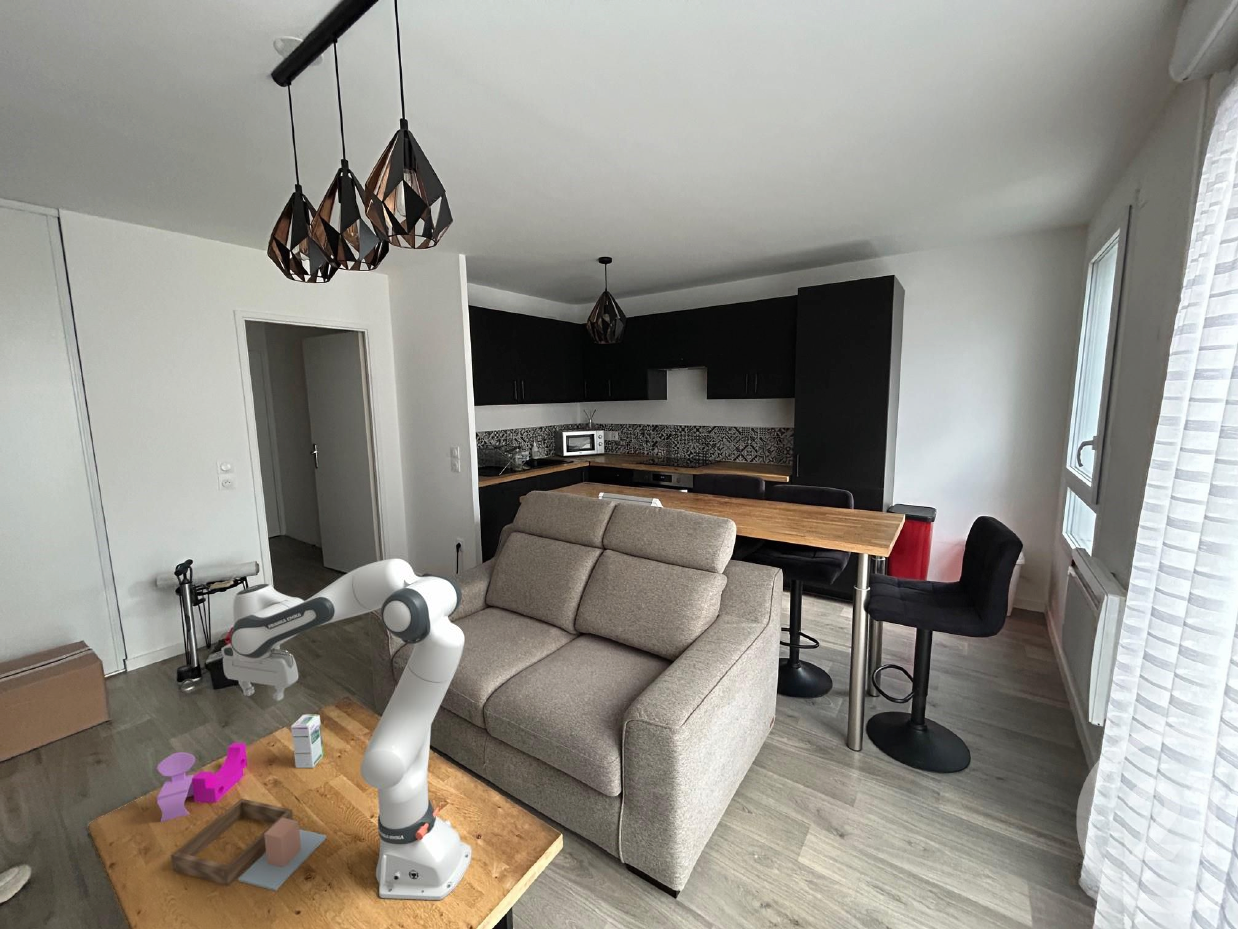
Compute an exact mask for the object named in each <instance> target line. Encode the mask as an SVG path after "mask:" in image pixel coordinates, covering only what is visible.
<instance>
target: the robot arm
mask: <svg viewBox="0 0 1238 929" xmlns="http://www.w3.org/2000/svg"><path fill="white" fill-rule="evenodd" d="M462 594H463V593H462V589H461V586H460V584H458V582H457V581H456V580H454V579H452V578H451V577H447V576H445V575H436V574H432V573H428V572H427V573H423V574H422V575H421V576H417V575H416V574H415V572H414V570H413V568H412V566H411V565H410V564H409V563H408V562H407V561H405V560H404V559H401V558H388V559H384V560H383V559H382V560H379V561H374V562H371V563H368V564H365V565H363V566H359V567H358V568H355V569H352V570H351V571H349V572H347V573H346V574H343V575H342V576H341V577H339V578H337V579H336V580H334V582H332V583H331V584H329V585H328V586H326V587H325V588H323V589H321V590H319V591H318V592H317V593H315V594H314V595H313V596H311V597H309V598H308V599H306V600H305V599H303V598H301V597H297V596H290V595H287V594H283V593H281V592H280V591H277V590H276V589H275V588H274V587H273V586H272V585H271V584H270V583H260V584H256V585H255V584H254V585H253V586H249V587H246V588H244V589H241V590H239V591H238V592H237V593H236V595H235V596H234V599H233V606H232V608H233V622H234V624H233V627H232V629H231V632H230V641H229V642H230V643H228V644H226V645H224V646H223V647H221V655H223V657H222V668H223V673H224V676H225V678H227V679H228V680H234V681H238V684H239V686H240V688H241V690H242V691H243V695H244V696H246V697H250V696H251V695H253V694H255V686H252V684H251V683H254V684H259V685H265V686H266V685H267V686H273V687H274V689H275V690H276V691H275V692H274V693H272V699H273V701H281V700H282V699H283V698H284V691H285V690H286V688H288V687H291V686H292V685H293V684H295V683H296V682H297V681H298V679H299V671H298V666H297V663H296V659H295V657H294V655H293V654H291V652H290V651H288V650H286V649H281V648H280V645H282V644H284V643H285V642H287V641H289V640H291V639H293V638H294V637H295V636H297V635H299V634H301V633H303V632H306V631H309V630H311V629H313V628H316V627H320V626H323V625H326V624H330V623H334V622H338V621H341V620H345V619H349V618H353V617H356V616H360V615H364V614H367V613H371V612H373V611H376V610H379V609H380V619H381V623H382V625H383V626H384V628H385V629H386V630H387V631H388V632H389V633H390V634H391V635H393V636H394V637H396V638H398V639H401V640H402V641H403V642H404V644H408V645H414V646H413V647H414V648H413V651H412V652H411V654H410V657H409V659H408V661H407V663H406V666H405V667H404V670H403V672H402V673H401V676H400V679H399V681H398V683H397V686H396V688H395V690H394V692H393V693H392V696H391V698H390V699H389V702H388V704H387V706H386V708H384V709H385V710H384V711H383V713H382V715H381V717H380V719H379V721H378V723H377V725H376V727H375V730H374V731H373V734H372V736H371V738H370V740H369V741H368V744H367V745H366V749H365V751H364V754H363V757H362V760H361V762H360V763H361V764H360V776H361V778H362V780H364V782H365V783H366V784H367V785H368V786H370V787H372V788H374V789H377V798H378V800H377V801H378V802H377V803H378V812H379V813H378V816H377V830H378V836H379V838H380V841H379V842H380V843H379V855H378V860H377V865H376V869H375V878H376V880H377V882H378V884H379V890H378V891H379V892H378V896H379V897H380V898H382V899H396V900H397V899H399V900H406V899H407V900H424V901H425V900H426V901H427V900H430V901H440V900H443V899H445V898H446V897H447V896H448V895H450V893H451V892H453V891H454V890H455V889H456V887H457V885H459V883H460V882H461V880H462V878H463V877H464V875H465V874H466V872H467V870H468V868H469V866H470V863H471V860H472V855H473V854H472V853H473V852H472V846H471V845H470V844H468V843H465V842H463V841H461V837H460V834H459V833H458V831H457V830H456V829H454V828H453V827H452V823H451V822H450V821H449V820H445V821H444V820H442V819H441V818H440V817H439V816H437V815H438V814H439V811H440V810H439V809H440V808H439V806H438V807H436V809H435V808H434V807H433V805H432V802H431V800H430V799H429V786H428V769H429V768H428V766H429V758H430V746H431V733H432V732H431V730H432V725H433V724H432V723H433V722H434V720H435V716H436V715H437V713H438V711H439V709H440V707H441V704H442V702H443V700H444V698H445V696H446V693H447V691H448V689H449V687H450V684H451V683H452V680H453V678H454V676H455V673H456V671H457V669H458V666H459V663H460V661H461V658H462V654H463V650H464V647H465V640H466V639H465V635H464V632H463V630H462V629H461V628H460V627H459V626H457V625H456V624H455V623H452V622H451V620H449V617H452V615H453V614H454V613H455V612H456V611H457V610H458V609H459V607H460V605H461V602H462V599H463V598H462V597H463V595H462ZM434 809H435V810H434Z"/></svg>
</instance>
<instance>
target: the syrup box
mask: <svg viewBox="0 0 1238 929" xmlns="http://www.w3.org/2000/svg"><path fill="white" fill-rule="evenodd" d="M320 716H321V715H320V714H313V713H310V714H302V715H301V716H300V717H299V718H298V719H297V720H296V721H295V722H294V723H293V724H292V725H291V726H290V729H291V737H292V739H291V740H292V745H293V746H292V747H293V753H294V754H293V755H294V756H293V757H294V762H295V763H294V764H295V768H296V769H297V768H298V769H314V768H315V766H316V765H317V764H318V763H319V761H321V759H322V758H323V757H324V754H325V752H324V751H325V750H324V742H323V736H322V735H323V734H322V725H321V717H320Z"/></svg>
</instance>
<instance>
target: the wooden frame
mask: <svg viewBox="0 0 1238 929" xmlns="http://www.w3.org/2000/svg"><path fill="white" fill-rule="evenodd" d="M293 814H294V813H293V809H290V808H285V807H281V806H279V805H278V806H276V805H272V804H268V803H263V802H258V801H254V800H249V799H246V798H241V799H239V800H238V801H237V802H235V803H234V804H233V805H232V806H230V807H229V808H228V809H227V810H226V811H224V812H223V813H222V814H220V815H219V816H218V817H216V819H214V820H213V821H212V822H210V823H209V824H208V825H207V826H205V827H204V828H203V829H202V830H200V831H199V832H198V833H197V834H196V835H194V836H193V837H192V838H191V839H189V840H188V841H186V843H184V844H183V845H182V846H180V847H179V848H178V849H177V850H175V851H174V852H173V853H171V855H170V857H171V865H172V871H173V872H176V873H181V874H184V875H187V874H189V875H188V876H192V877H195V878H199V879H203V880H206V881H210V882H212V883H213V882H214V883H217V884H220V885H225V886H227V887H228V886H230V885H231V884H232V883H233V882H234V881H235V880H237V879H238V878H239V877H240V876H241V875H242V874H243V873H244V872H245V871H247V870H248V869H249V868H250V867H251V866H252V865H253V864H254V863H255V862H256V861H257V860H258V859H259V858H260V857H261V856H262V855H263V854H264V853H265V852H266V846H265V837H264V834H265V833H266V832H267V831H268V830H269V829H270V828H271V827H272V826H273V825H275V824H276V823H277V822H278V821H279V820H280V819H281V818H286V819H290V820H294V816H293ZM243 817H244V818H247V819H252V820H257V821H261V822H265V823H269V824H271V825H270V826H268V827H267V829H265V830H264V831H263V832H262V833H261V834H260V835H259V836H258V837H257V838H256V839H254V840H253V841H252V842H251V843H250V844H249V845H248V846H247V847H245V849H243V850H242V851H241V852H240V853H239V854H238V855H237V856H236V857H235V858H233V859H232V860H231V861H230V862H229V863H228V864H225V863H221V862H218V861H213V860H209V859H207V858H206V859H205V858H202V857H198V856H197V855H198V854H199V853H201V852H202V851H203V850H204V849H205V848H207V847H208V846H209V845H210V844H211V843H213V842H214V841H215V840H216V839H217V838H218V837H220V836H221V835H222V834H223V833H225V832H226V831H227V830H228V829H229V828H231V827H233V825H234V824H236V823H237V822H238V821H239V820H240V819H241V818H243Z"/></svg>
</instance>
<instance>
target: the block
mask: <svg viewBox="0 0 1238 929" xmlns="http://www.w3.org/2000/svg"><path fill="white" fill-rule="evenodd" d="M299 829H300V824H299V820H295V819H293V820H290V819H286V818H281V819H280V820H279V821H278V822H277V823H276V824H275V825H273V826H272V827H271V828H270V829H269V830H268V831H267V832H266V833H265V834H264V837H265V846H266V851H265V852H266V856H267V863H269V864H273V865H277V866H281V867H285V866H286V865H287V864H288V863H289V862H290V861H291V859H292V858H293V857H294V856H295V855H296V854H297V853H298V852H299V851H300V850H301V844H300V834H299Z"/></svg>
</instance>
